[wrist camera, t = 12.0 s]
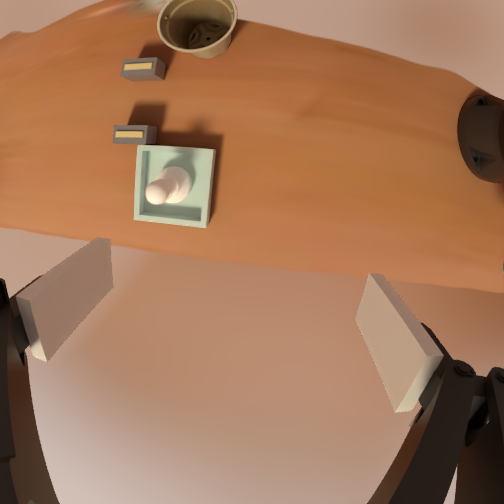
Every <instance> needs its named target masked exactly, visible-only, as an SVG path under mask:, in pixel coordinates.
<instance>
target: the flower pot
mask: <svg viewBox="0 0 504 504" xmlns="http://www.w3.org/2000/svg"><path fill="white" fill-rule="evenodd" d="M236 21H237V8H236V5H235V3H234V1H233V0H169V1H168V2H167V3H166V4H165V6H164V7H163V9H162V10H161V12H160V14H159V17H158V21H157V30H158V34H159V36H160V38H161V39H162V41H163V42H164V43H165V44H166V45H168V46H169V47H171V48H173V49H175V50H178V51H182V52H190V53H192V54H193V55H195V56H197V57H200V58H213V57H215V56H217V55H219V54H221V53H223V52H224V51H225V50H226V49H227V48H228V46H229V44H230V41H231V32H232V30H233V29H234V27H235V24H236ZM210 24H217V25H218V27H215V26H210ZM193 34H195V37H194V39H193V40H191V39H192V36H193ZM207 38H210V39H209V40H207Z"/></svg>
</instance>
